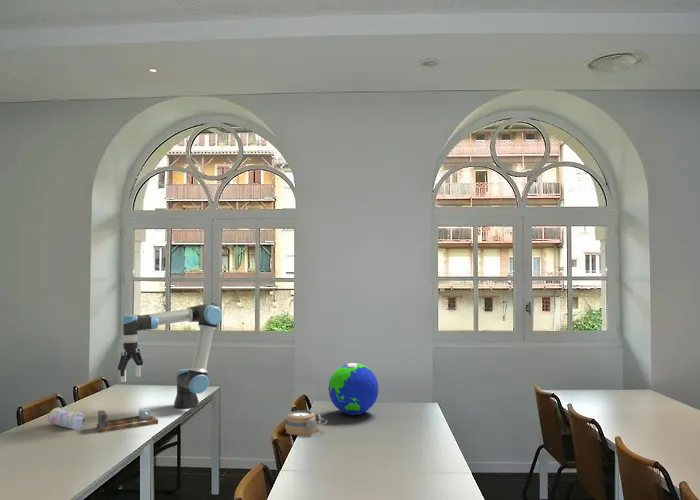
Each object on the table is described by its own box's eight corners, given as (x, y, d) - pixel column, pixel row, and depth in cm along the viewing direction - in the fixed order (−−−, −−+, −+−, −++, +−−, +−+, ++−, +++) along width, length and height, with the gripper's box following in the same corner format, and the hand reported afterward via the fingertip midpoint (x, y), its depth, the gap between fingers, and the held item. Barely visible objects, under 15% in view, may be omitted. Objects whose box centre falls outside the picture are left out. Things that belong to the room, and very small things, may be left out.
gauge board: (153, 418, 325) (153, 403, 325) (158, 423, 315) (158, 407, 315) (96, 427, 309) (96, 410, 309) (100, 432, 299) (100, 415, 299)
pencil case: (85, 427, 310) (85, 409, 310) (71, 431, 302) (71, 413, 303) (60, 422, 319) (60, 405, 320) (46, 426, 312) (46, 409, 312)
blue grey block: (148, 417, 320) (148, 408, 320) (152, 420, 312) (152, 411, 312) (139, 418, 318) (139, 409, 318) (142, 422, 310) (142, 413, 310)
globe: (386, 410, 339) (386, 360, 340) (367, 423, 312) (366, 369, 313) (342, 405, 352) (341, 357, 353) (319, 417, 325) (319, 365, 325)
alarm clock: (292, 408, 311) (331, 411, 304) (292, 424, 311) (331, 428, 304) (279, 416, 295) (320, 419, 288) (279, 433, 295) (320, 437, 288)
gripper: (137, 338, 334) (138, 374, 333) (110, 345, 310) (111, 383, 309) (149, 338, 332) (149, 374, 332) (122, 345, 308) (122, 384, 307)
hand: (130, 379), depth 320 cm, fingers open, 13 cm apart
